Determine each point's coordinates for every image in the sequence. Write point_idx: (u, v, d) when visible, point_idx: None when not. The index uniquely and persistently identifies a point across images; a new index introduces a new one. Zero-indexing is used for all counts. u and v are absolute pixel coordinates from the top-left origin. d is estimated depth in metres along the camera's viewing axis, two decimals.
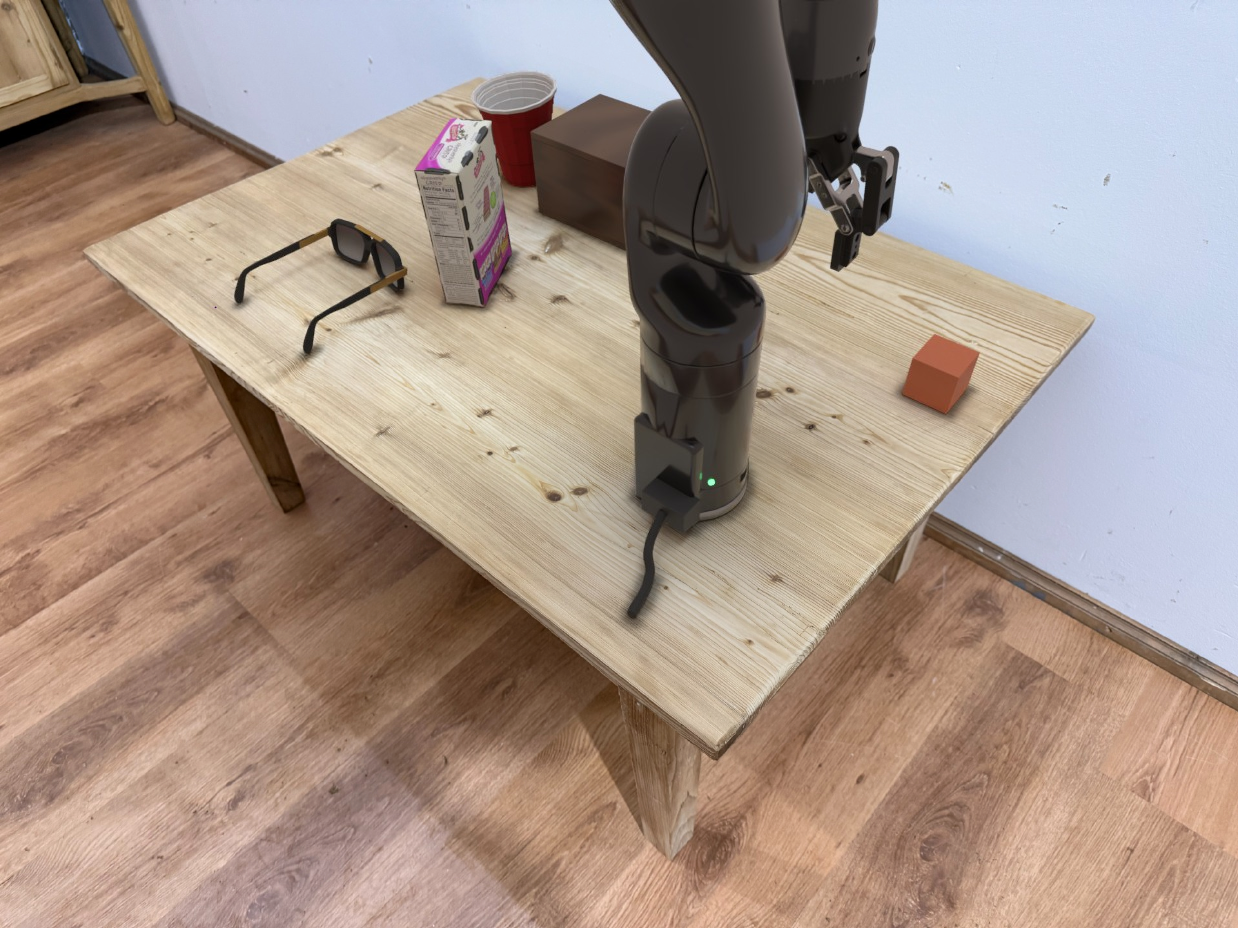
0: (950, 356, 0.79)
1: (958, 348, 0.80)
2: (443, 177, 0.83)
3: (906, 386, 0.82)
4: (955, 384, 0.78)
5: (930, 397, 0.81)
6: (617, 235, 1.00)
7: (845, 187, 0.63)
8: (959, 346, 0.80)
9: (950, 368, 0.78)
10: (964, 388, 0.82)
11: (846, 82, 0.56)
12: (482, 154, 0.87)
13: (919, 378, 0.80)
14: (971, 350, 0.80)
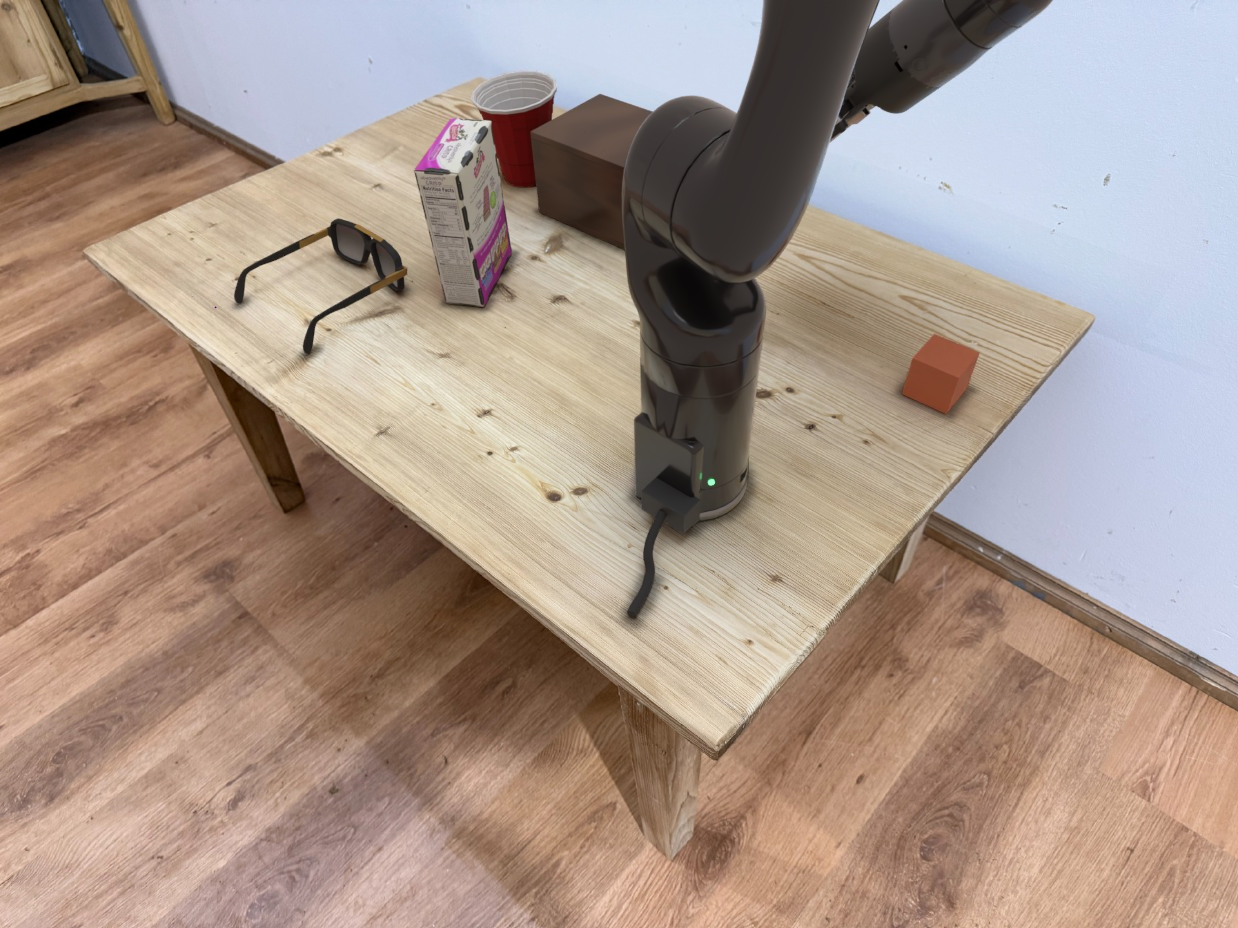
0: (950, 356, 0.79)
1: (958, 348, 0.80)
2: (443, 177, 0.83)
3: (906, 386, 0.82)
4: (955, 384, 0.78)
5: (930, 397, 0.81)
6: (617, 235, 1.00)
7: None
8: (959, 346, 0.80)
9: (950, 368, 0.78)
10: (964, 388, 0.82)
11: (888, 49, 0.69)
12: (482, 154, 0.87)
13: (919, 378, 0.80)
14: (971, 350, 0.80)
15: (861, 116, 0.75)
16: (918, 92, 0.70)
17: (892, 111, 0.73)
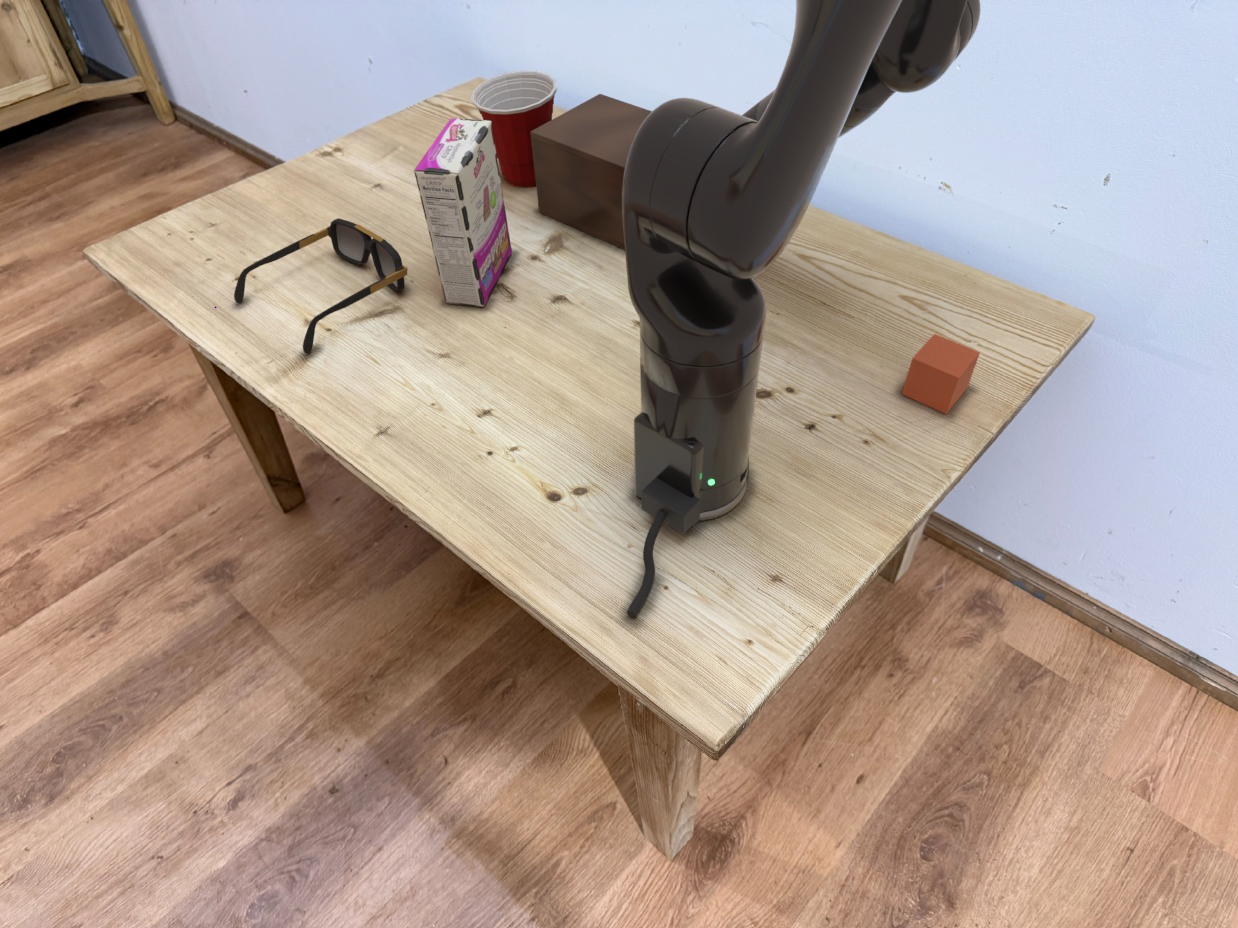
0: (950, 356, 0.79)
1: (958, 348, 0.80)
2: (443, 177, 0.83)
3: (906, 386, 0.82)
4: (955, 384, 0.78)
5: (930, 397, 0.81)
6: (617, 235, 1.00)
7: None
8: (959, 346, 0.80)
9: (950, 368, 0.78)
10: (964, 388, 0.82)
11: None
12: (482, 154, 0.87)
13: (919, 378, 0.80)
14: (971, 350, 0.80)
15: None
16: None
17: None
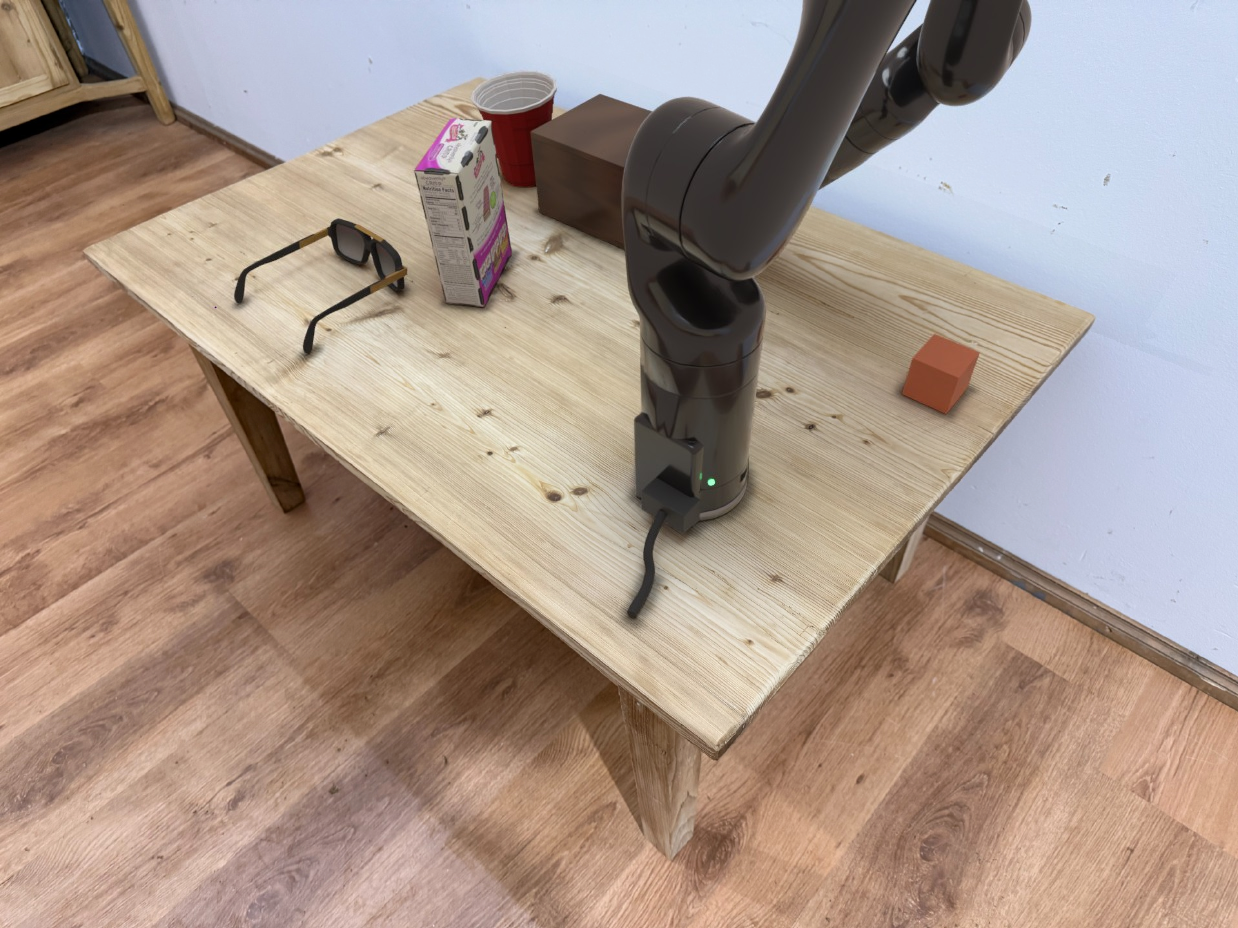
0: (950, 356, 0.79)
1: (958, 348, 0.80)
2: (443, 177, 0.83)
3: (906, 386, 0.82)
4: (955, 384, 0.78)
5: (930, 397, 0.81)
6: (617, 235, 1.00)
7: None
8: (959, 346, 0.80)
9: (950, 368, 0.78)
10: (964, 388, 0.82)
11: None
12: (482, 154, 0.87)
13: (919, 378, 0.80)
14: (971, 350, 0.80)
15: None
16: None
17: None
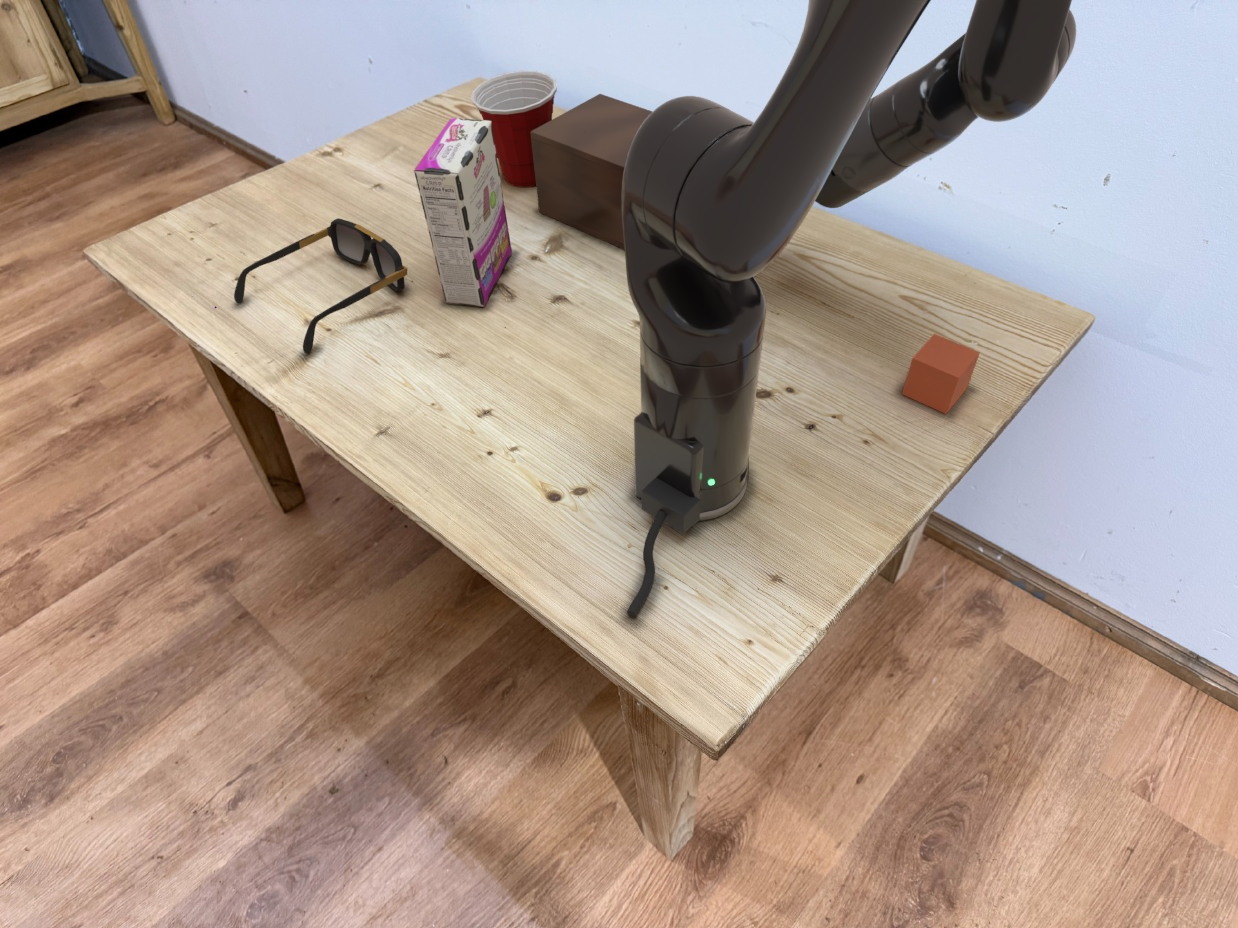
0: (950, 356, 0.79)
1: (958, 348, 0.80)
2: (443, 177, 0.83)
3: (906, 386, 0.82)
4: (955, 384, 0.78)
5: (930, 397, 0.81)
6: (617, 235, 1.00)
7: None
8: (959, 346, 0.80)
9: (950, 368, 0.78)
10: (964, 388, 0.82)
11: None
12: (482, 154, 0.87)
13: (919, 378, 0.80)
14: (971, 350, 0.80)
15: None
16: (849, 194, 0.81)
17: (827, 206, 0.84)
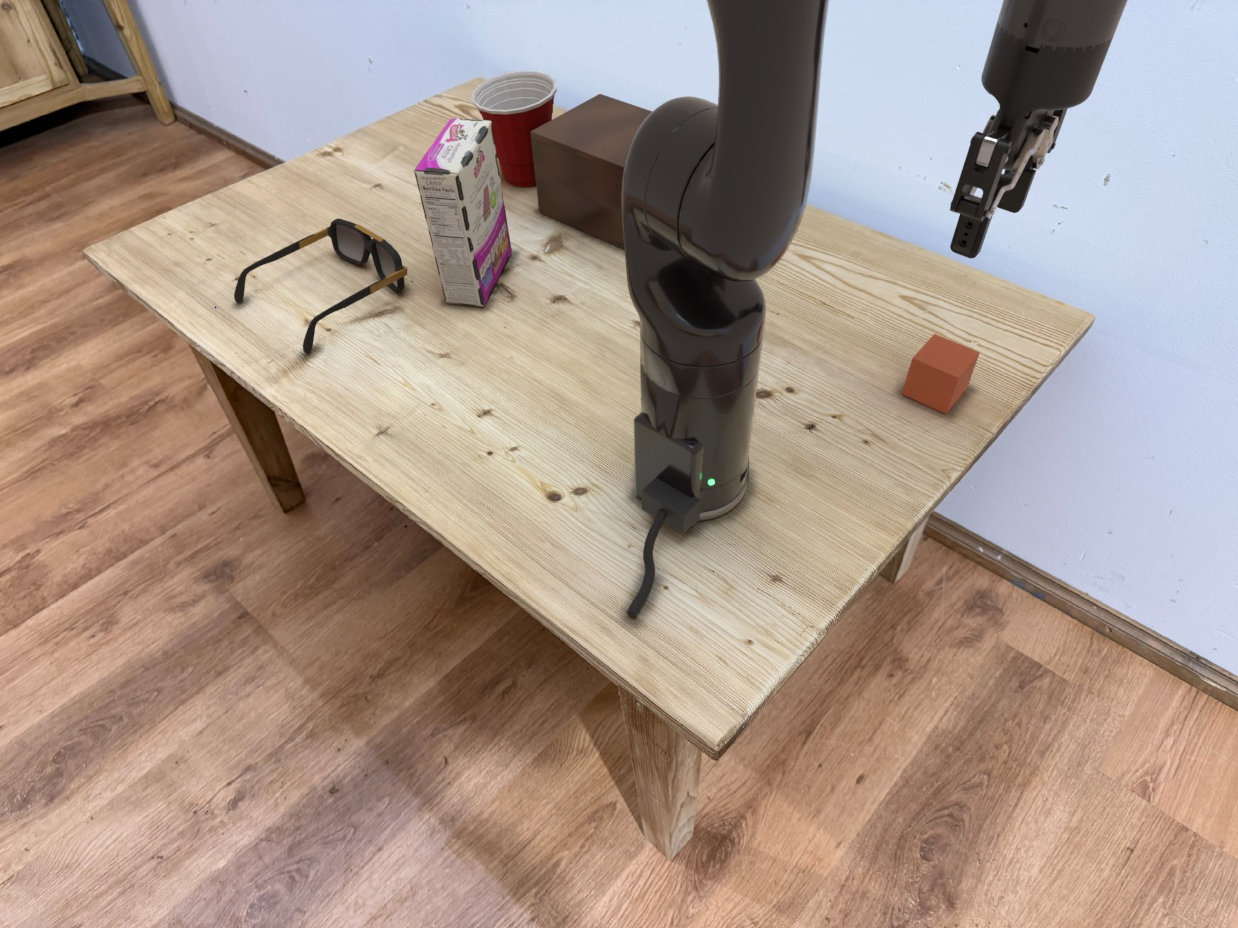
0: (950, 356, 0.79)
1: (958, 348, 0.80)
2: (443, 177, 0.83)
3: (906, 386, 0.82)
4: (955, 384, 0.78)
5: (930, 397, 0.81)
6: (617, 235, 1.00)
7: None
8: (959, 346, 0.80)
9: (950, 368, 0.78)
10: (964, 388, 0.82)
11: (1010, 43, 0.57)
12: (482, 154, 0.87)
13: (919, 378, 0.80)
14: (971, 350, 0.80)
15: (1034, 138, 0.61)
16: (1077, 61, 0.56)
17: (1062, 104, 0.58)
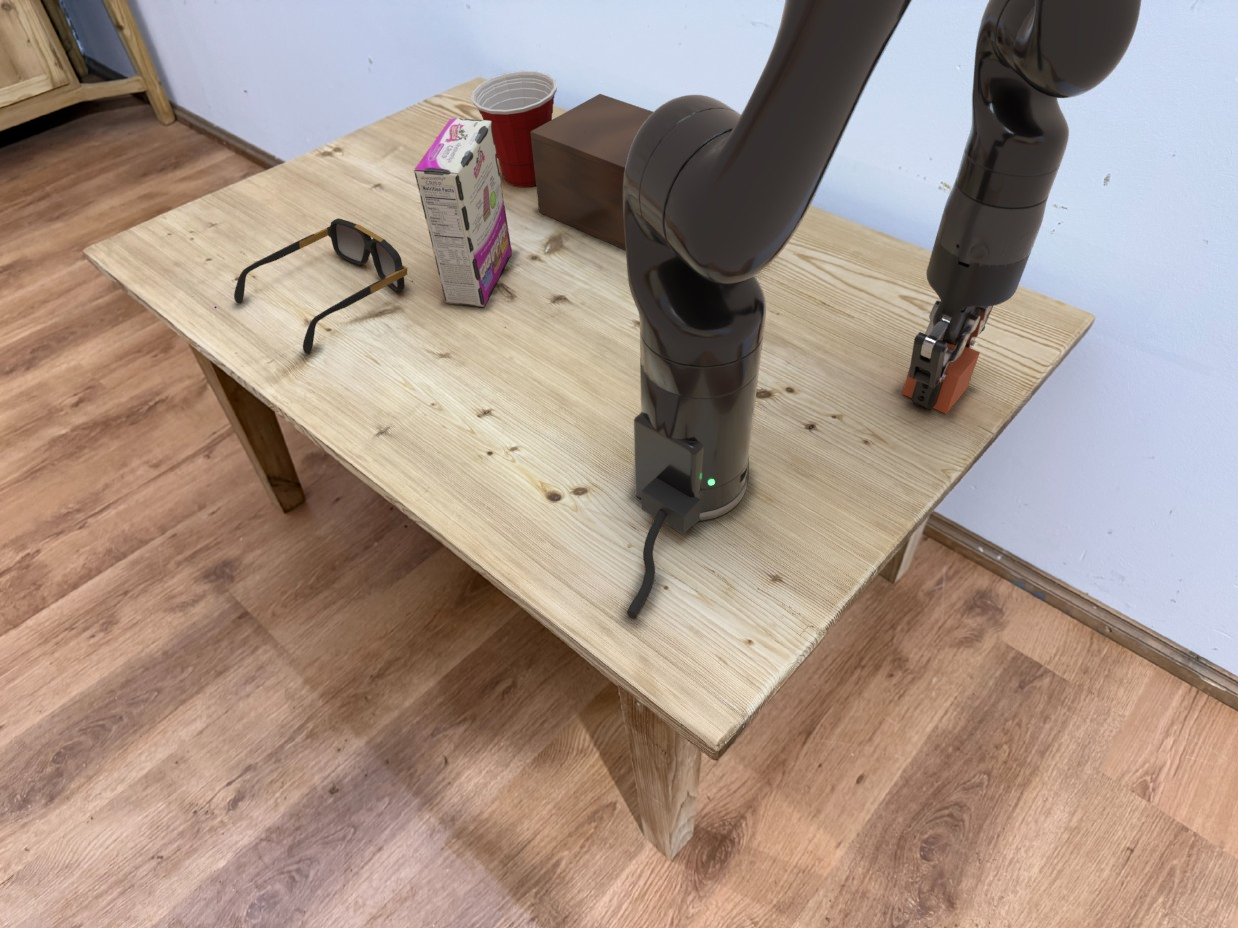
0: None
1: None
2: (443, 177, 0.83)
3: (906, 386, 0.82)
4: (955, 384, 0.78)
5: None
6: (617, 235, 1.00)
7: None
8: None
9: (950, 368, 0.78)
10: (964, 388, 0.82)
11: (946, 256, 0.70)
12: (482, 154, 0.87)
13: None
14: (971, 350, 0.80)
15: (970, 325, 0.74)
16: (1000, 274, 0.68)
17: (991, 303, 0.71)
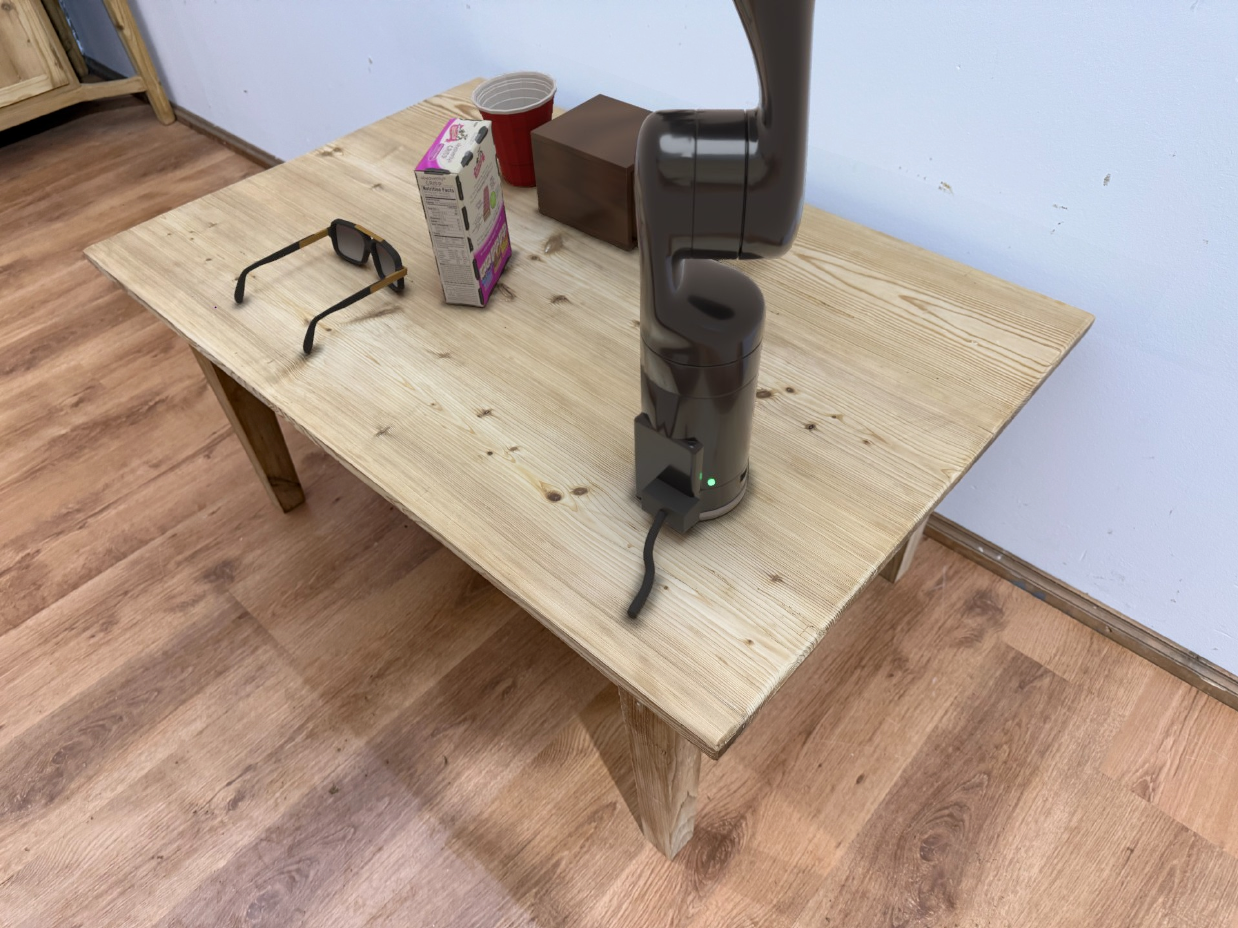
0: None
1: None
2: (443, 177, 0.83)
3: None
4: None
5: None
6: (617, 235, 1.00)
7: None
8: None
9: None
10: None
11: None
12: (482, 154, 0.87)
13: None
14: None
15: None
16: None
17: None
